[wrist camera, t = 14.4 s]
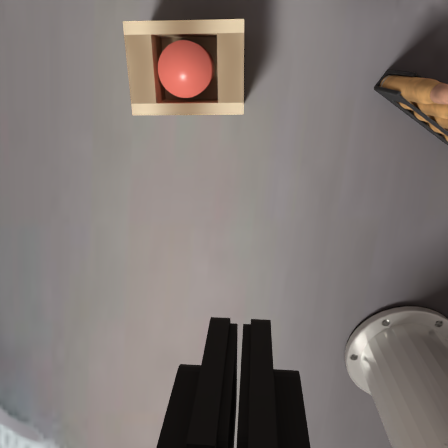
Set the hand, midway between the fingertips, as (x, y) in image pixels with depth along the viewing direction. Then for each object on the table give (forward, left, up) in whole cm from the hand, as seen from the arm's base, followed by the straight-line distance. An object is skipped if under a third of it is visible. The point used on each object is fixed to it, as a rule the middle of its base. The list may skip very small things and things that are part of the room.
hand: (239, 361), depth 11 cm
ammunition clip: (-16, -3, -27) cm, 31 cm away
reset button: (+4, -7, -23) cm, 24 cm away
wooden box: (+4, -7, -27) cm, 28 cm away
